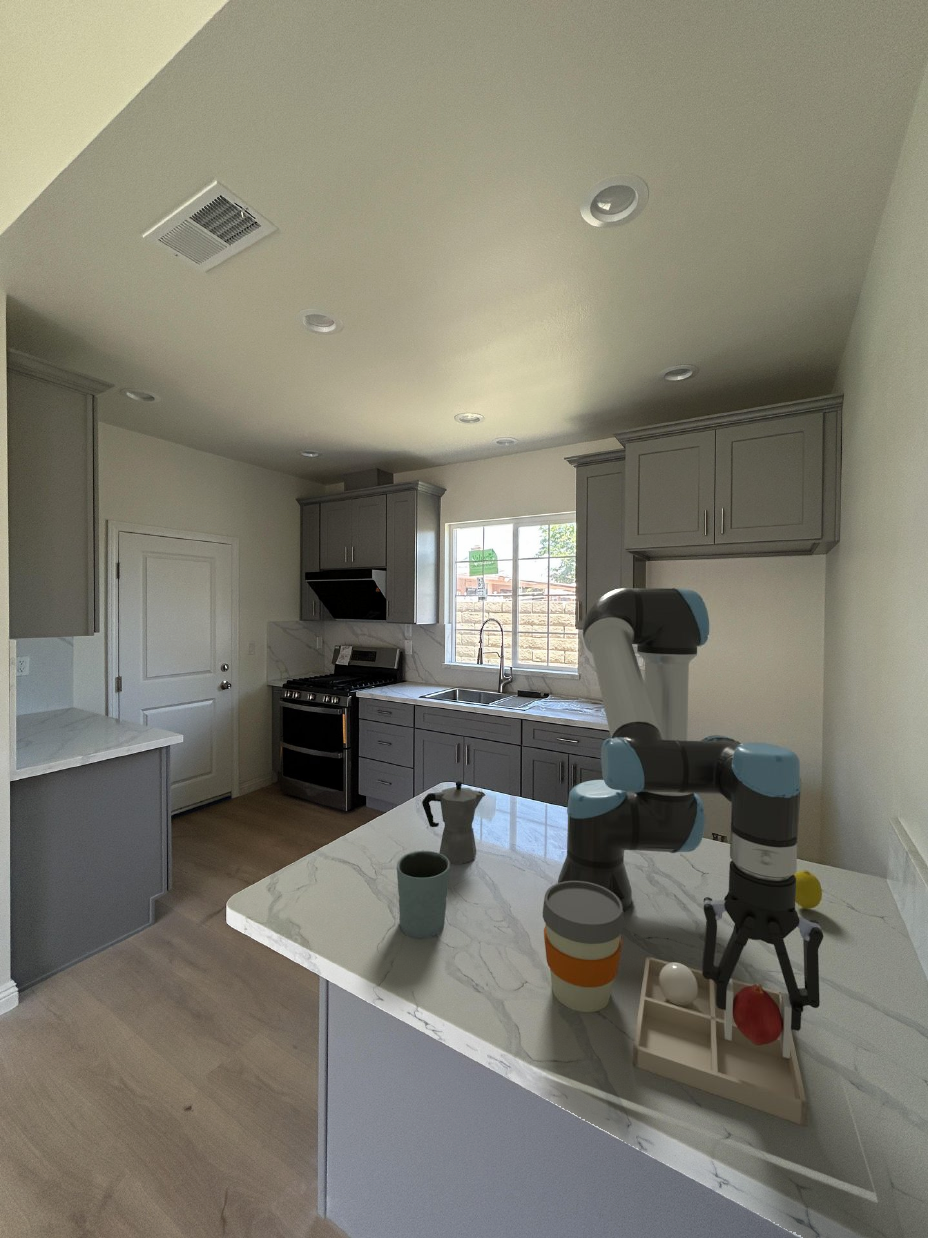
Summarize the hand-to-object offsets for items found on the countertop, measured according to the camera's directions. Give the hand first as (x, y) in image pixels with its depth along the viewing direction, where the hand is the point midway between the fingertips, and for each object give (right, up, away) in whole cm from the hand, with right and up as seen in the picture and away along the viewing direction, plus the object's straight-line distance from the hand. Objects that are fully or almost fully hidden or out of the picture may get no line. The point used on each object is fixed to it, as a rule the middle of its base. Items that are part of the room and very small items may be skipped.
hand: (755, 1040), depth 70 cm
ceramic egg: (-5, -4, +13) cm, 15 cm away
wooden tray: (-3, -5, +7) cm, 9 cm away
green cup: (-46, -3, +32) cm, 56 cm away
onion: (0, 0, 0) cm, 1 cm away
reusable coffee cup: (-20, -5, +15) cm, 25 cm away
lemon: (+31, -4, +39) cm, 50 cm away
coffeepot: (-41, -2, +59) cm, 72 cm away
